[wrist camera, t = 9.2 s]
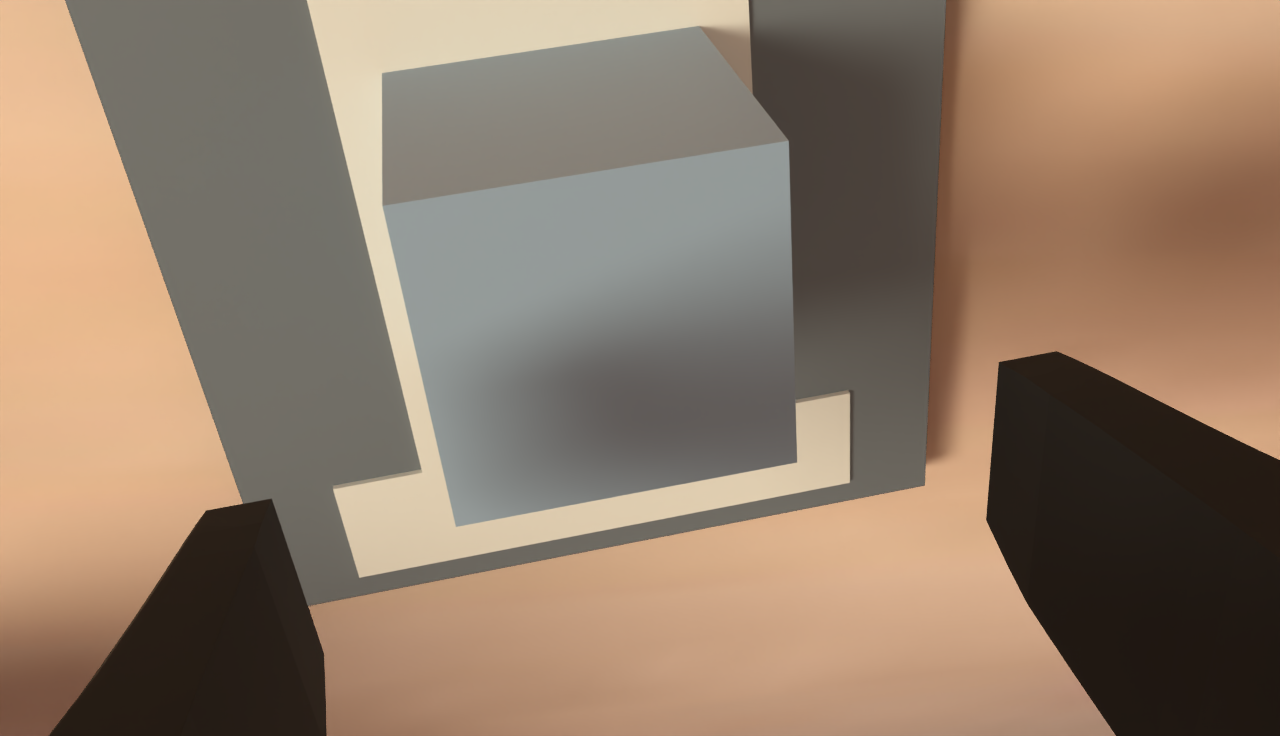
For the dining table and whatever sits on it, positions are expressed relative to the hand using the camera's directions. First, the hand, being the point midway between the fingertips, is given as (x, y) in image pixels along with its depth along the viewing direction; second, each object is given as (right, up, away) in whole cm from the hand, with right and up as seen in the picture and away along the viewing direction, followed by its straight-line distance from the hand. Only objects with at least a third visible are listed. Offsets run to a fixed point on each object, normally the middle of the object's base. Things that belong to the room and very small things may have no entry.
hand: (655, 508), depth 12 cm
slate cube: (-1, +4, +6) cm, 8 cm away
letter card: (-2, +4, +7) cm, 8 cm away
